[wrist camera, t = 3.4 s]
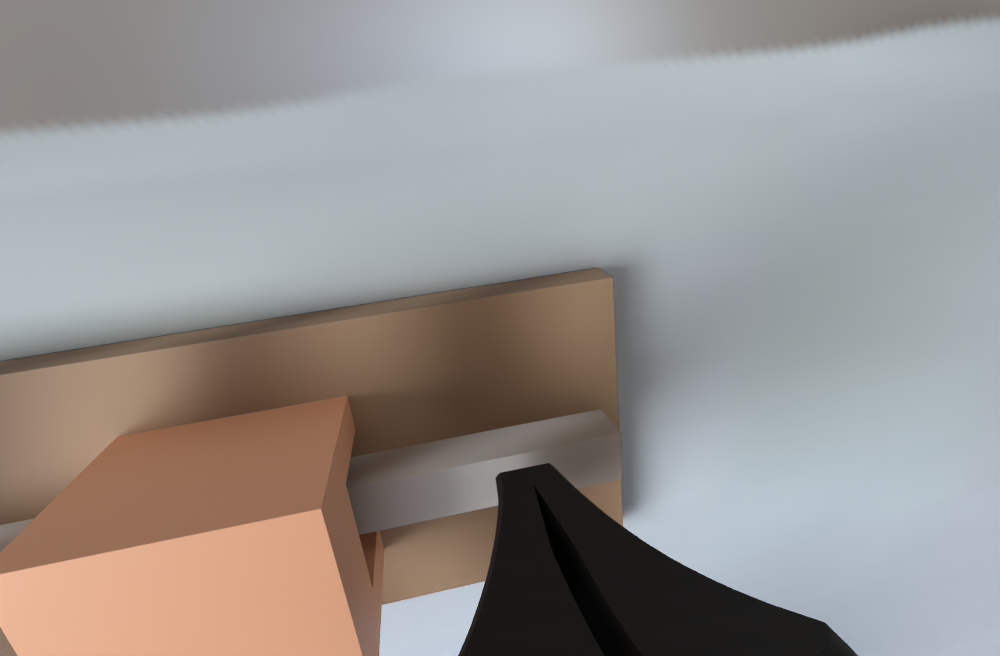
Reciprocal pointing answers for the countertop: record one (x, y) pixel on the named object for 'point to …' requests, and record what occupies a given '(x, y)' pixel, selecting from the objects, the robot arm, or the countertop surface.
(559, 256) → the countertop surface
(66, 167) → the countertop surface
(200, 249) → the countertop surface
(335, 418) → the slider block
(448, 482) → the rail board
